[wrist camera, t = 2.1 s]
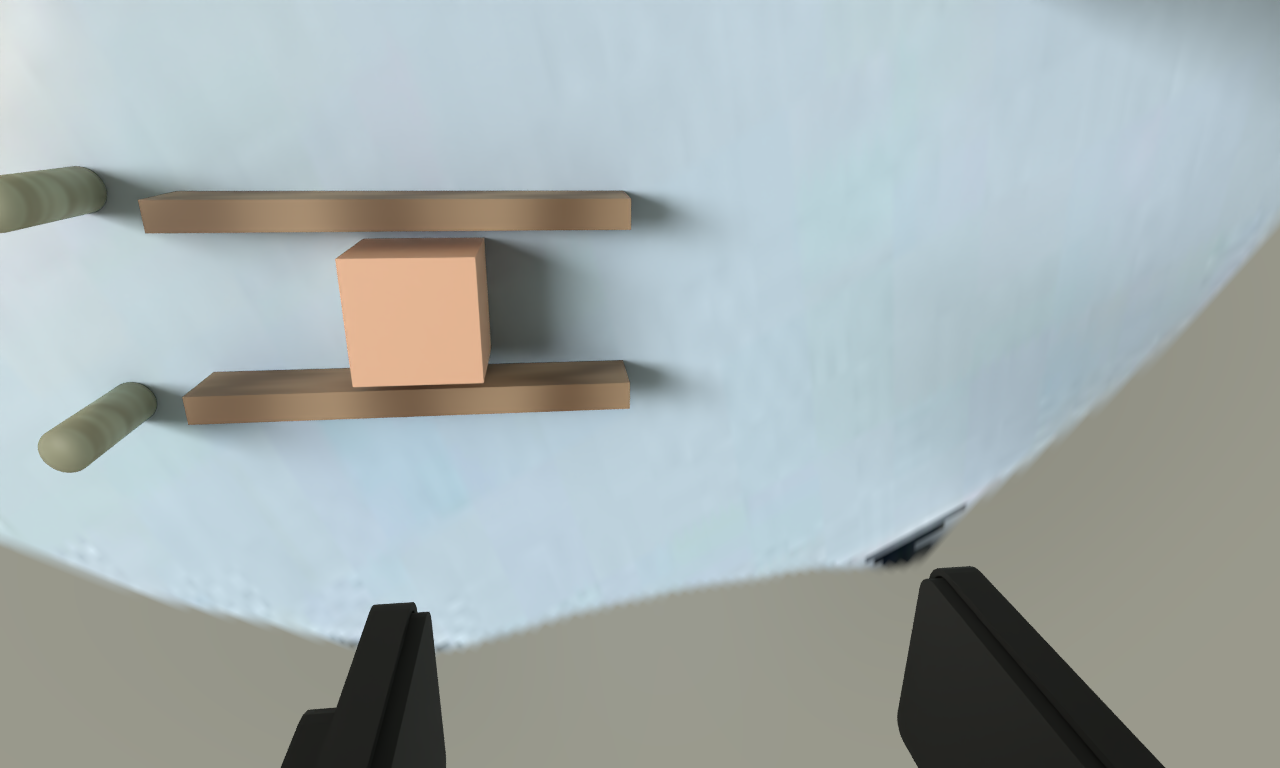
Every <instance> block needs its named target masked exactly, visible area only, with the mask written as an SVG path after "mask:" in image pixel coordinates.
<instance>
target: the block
mask: <svg viewBox="0 0 1280 768" xmlns="http://www.w3.org/2000/svg"><path fill="white" fill-rule="evenodd" d="M335 261H336V268H337V275H338V283H339V290H340V297H341V305H342V312H343V320H344V327H345V334H346V342H347V349H348V356H349V364H350V371H351V378H352V386H353V387H376V386H407V385H439V384H470V383H484V379H485V375H486V370H487V366H488V361H489V357H490V352H491V336H490V321H489V305H488V289H487V273H486V257H485V242H484V238H375V239H362V240H361V241H360V242H358V243H357V244H355V245H354V246H353V247H351V248H350V249H348V250H347V251H346V252H344V253H343V254H341V255H340V256H339V257H337V258H336V259H335Z"/></svg>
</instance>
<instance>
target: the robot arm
mask: <svg viewBox="0 0 1280 768" xmlns="http://www.w3.org/2000/svg"><path fill="white" fill-rule="evenodd" d="M897 718H898V719H897V720H898V727H899V731H900V735H901V737H902V739H903V742H904V743H905V745H906V747H907V749H908V750H909V752H910V754H911V755H912V758H913V759H914V761H915V763H916V765H917V766H918V768H1165V767H1164V766H1163V765H1162V764H1161V763H1160V762H1159V761H1158V760H1157V759H1156V758H1155V756H1154V755H1153V754H1152V753H1151V752H1150V751H1149V750H1148V749H1147V748H1146V747H1145V746H1144V745H1143V744H1142V743H1141V742H1140V741H1139V740H1138V738H1136V736H1135V735H1134V734H1133V733H1132V732H1131V731H1130V730H1129V729H1128V728H1127V727H1126V726H1125V725H1124V724H1123V722H1121V720H1120V719H1119V718H1118V717H1117V716H1116V715H1115V714H1114V713H1113V712H1112V711H1111V710H1110V709H1109V708H1108V707H1107V706H1106V704H1105V703H1104V702H1103V701H1102V700H1101V699H1100V698H1099V697H1098V696H1097V695H1096V694H1095V693H1094V692H1093V691H1092V690H1091V689H1090V688H1089V687H1088V685H1087V684H1086V683H1085V682H1084V681H1083V680H1082V679H1081V678H1080V677H1079V676H1078V675H1077V674H1076V673H1075V672H1074V671H1073V669H1072V668H1070V666H1069V665H1068V664H1067V663H1066V662H1065V661H1064V660H1063V659H1062V658H1061V657H1060V656H1059V655H1058V654H1057V652H1055V650H1054V649H1053V648H1052V647H1051V646H1050V645H1049V644H1048V643H1047V642H1046V641H1045V640H1044V639H1043V638H1042V637H1041V636H1040V634H1039V633H1037V631H1036V630H1035V629H1034V628H1033V627H1032V626H1031V625H1030V624H1029V623H1028V622H1027V621H1026V620H1025V619H1024V618H1023V617H1022V615H1021V614H1020V613H1019V612H1018V611H1017V610H1016V609H1015V608H1014V607H1013V606H1012V605H1011V604H1010V603H1009V602H1008V601H1007V599H1006V598H1005V597H1004V596H1003V595H1002V594H1001V593H1000V592H999V591H998V590H997V589H996V588H995V587H994V586H993V585H992V584H991V583H990V582H989V580H988V579H987V578H986V577H985V576H984V575H983V574H982V573H981V572H980V571H979V570H978V569H976V568H975V567H971V566H967V567H952V568H937V569H935V570H933V572H932V573H931V574H930V578H929V579H925V580H923V581H922V583H921V585H920V589H919V595H918V600H917V606H916V612H915V617H914V623H913V630H912V634H911V640H910V646H909V651H908V657H907V663H906V668H905V674H904V680H903V685H902V691H901V697H900V703H899V708H898V715H897ZM445 753H446V752H445V743H444V734H443V724H442V716H441V705H440V696H439V686H438V677H437V668H436V658H435V649H434V639H433V630H432V620H431V615H430V613H429V612H419V613H417V608H416V605H415V603H414V602H409V603H394V604H378V605H373V606H372V608H371V610H370V612H369V615H368V618H367V621H366V624H365V627H364V629H363V632H362V635H361V638H360V641H359V644H358V647H357V650H356V653H355V655H354V658H353V662H352V664H351V667H350V670H349V673H348V676H347V679H346V681H345V685H344V687H343V690H342V693H341V696H340V699H339V702H338V705H337V707H336V708H326V709H313V710H307V711H306V713H305V714H303V716H302V718H301V720H300V722H299V724H298V726H297V728H296V731H295V734H294V736H293V738H292V741H291V744H290V746H289V749H288V751H287V753H286V756H285V759H284V761H283V763H282V766H281V768H446V754H445Z"/></svg>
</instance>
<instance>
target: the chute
mask: <svg viewBox="0 0 1280 768" xmlns="http://www.w3.org/2000/svg"><path fill="white" fill-rule="evenodd" d="M106 198H107V192H106V188H105V185H104V183H103V182H102V180H101V179H100V178H99V177H98V176H97V175H96V174H95V173H94V172H92V171H91V170H89V169H86V168H84V167H79V166H72V167H64V168H56V169H48V170H39V171H31V172H23V173H15V174H7V175H0V233H6V232H10V231H15V230H19V229H23V228H28V227H32V226H36V225H41V224H45V223H50V222H54V221H58V220H63V219H67V218H71V217H76V216H80V215H84V214H89V213H93V212H96V211H98V210H100V209H101V208H102V207H103V206H104V204H105V202H106ZM138 203H139V207H140V212H141V216H142V221H143V225H144V230H145V233H245V232H379V231H513V230H631V198H630V197H629V196H628V195H627V194H626V193H625V192H624V191H175V192H171V193H166V194H162V195H157V196H153V197H148V198H144V199H139V200H138ZM182 399H183V403H184V407H185V412H186V416H187V421H188V425H196V424H224V423H251V422H278V421H305V420H332V419H359V418H387V417H414V416H441V415H468V414H495V413H522V412H550V411H577V410H604V409H630V382H629V379H628V375H627V372H626V369H625V366H624V363H623V360H617V361H582V362H548V363H513V364H488V366H487V370H486V375H485V379H484V383H470V384H439V385H407V386H376V387H353V386H352V378H351V371H350V368H340V369H305V370H270V371H236V372H213V373H212V374H211V375H209V376H208V377H207V378H206V379H204V380H203V381H202V382H201V383H199V384H198V385H197V386H196V387H194V388H193V389H192V390H191V391H189V392H188V393H187V394H186V395H184V396H183V397H182ZM156 408H157V401H156V398H155V396H154V394H153V393H152V392H151V391H150V390H149V389H148V388H147V387H145V386H144V385H141V384H139V383H134V382H127V383H123V384H120V385H119V386H117V387H115V388H114V389H112V390H111V391H109V392H108V393H106V394H105V395H103V396H102V397H100V398H99V399H97V400H96V401H94V402H92V403H91V404H89V405H88V406H86V407H85V408H83V409H82V410H80V411H79V412H77V413H76V414H74V415H72V416H71V417H69V418H68V419H66V420H65V421H63V422H62V423H60V424H59V425H57V426H56V427H54V428H52V429H51V430H49V431H48V432H46V433H45V434H44V435H43V436H42V437H41V438H40V440H39V443H38V451H39V454H40V456H41V458H42V459H43V461H44V462H45V463H46V464H47V465H49V466H50V467H52V468H53V469H56V470H58V471H61V472H67V473H72V472H78V471H81V470H83V469H84V468H86V467H87V466H88V465H90V464H91V463H92V462H93V461H95V460H96V459H97V458H98V457H100V456H101V455H102V454H104V453H105V452H106V451H107V450H109V449H110V448H111V447H113V446H114V445H115V444H116V443H118V442H119V441H120V440H121V439H123V438H124V437H125V436H127V435H128V434H129V433H130V432H132V431H133V430H134V429H135V428H137V427H138V426H139V425H141V424H142V423H143V422H144V421H146V420H147V419H148V418H150V417H151V416H152V415H153V414H154V413H155V411H156Z"/></svg>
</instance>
